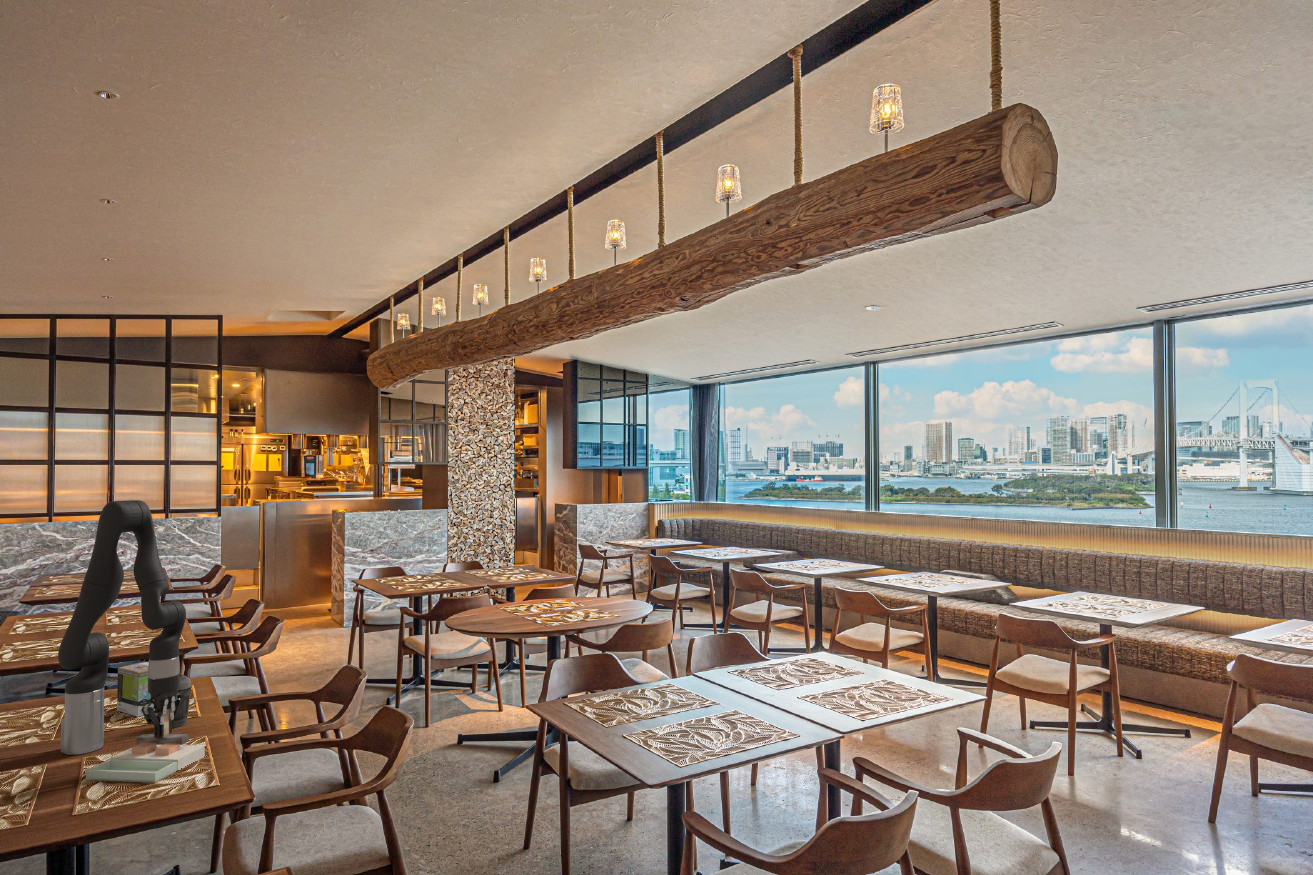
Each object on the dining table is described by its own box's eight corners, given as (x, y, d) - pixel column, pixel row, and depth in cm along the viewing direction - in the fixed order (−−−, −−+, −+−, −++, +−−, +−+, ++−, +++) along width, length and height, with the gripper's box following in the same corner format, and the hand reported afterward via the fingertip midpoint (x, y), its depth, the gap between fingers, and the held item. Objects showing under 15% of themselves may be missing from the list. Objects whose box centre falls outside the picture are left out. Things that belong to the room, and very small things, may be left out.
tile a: (131, 754, 207) (132, 747, 207) (143, 748, 211) (143, 742, 211) (145, 754, 206) (145, 747, 206) (156, 749, 210) (156, 742, 210)
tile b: (155, 754, 206) (155, 748, 206) (166, 749, 210) (166, 742, 210) (168, 755, 205) (168, 748, 205) (179, 749, 209) (179, 743, 209)
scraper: (136, 744, 211) (135, 708, 211) (143, 741, 213) (142, 705, 214) (182, 744, 209) (181, 708, 210) (188, 741, 212) (188, 705, 212)
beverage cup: (178, 729, 235) (179, 664, 236) (158, 728, 236) (159, 664, 237) (197, 721, 242) (198, 659, 243) (178, 720, 244) (178, 658, 244)
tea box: (169, 709, 255) (170, 665, 256) (136, 717, 247) (137, 672, 247) (148, 702, 263) (149, 660, 264) (115, 710, 255) (116, 666, 255)
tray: (85, 779, 197) (86, 770, 197) (110, 768, 204) (110, 759, 204) (155, 782, 194) (155, 772, 194) (177, 770, 202) (177, 761, 202)
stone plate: (111, 768, 205) (111, 756, 205) (140, 754, 214) (140, 743, 215) (177, 770, 202) (178, 759, 202) (204, 756, 212) (204, 745, 212)
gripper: (170, 666, 219) (169, 726, 219) (131, 680, 206) (131, 744, 205) (194, 667, 218) (193, 727, 218) (157, 680, 205) (156, 745, 204)
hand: (163, 735), depth 211 cm, fingers closed on scraper, 2 cm apart
